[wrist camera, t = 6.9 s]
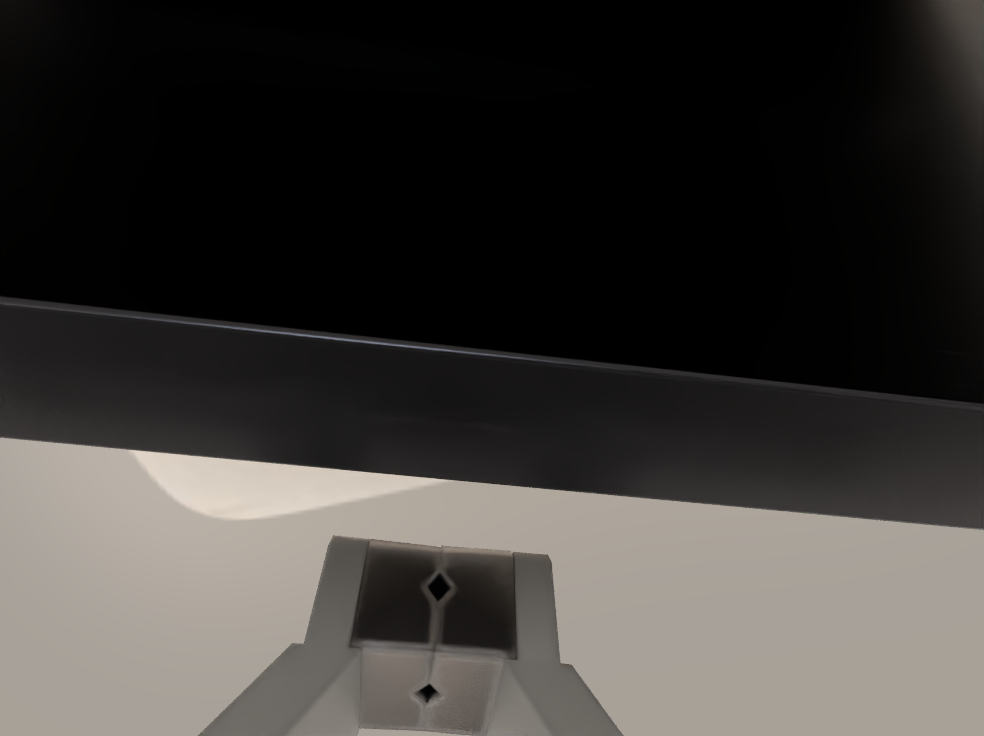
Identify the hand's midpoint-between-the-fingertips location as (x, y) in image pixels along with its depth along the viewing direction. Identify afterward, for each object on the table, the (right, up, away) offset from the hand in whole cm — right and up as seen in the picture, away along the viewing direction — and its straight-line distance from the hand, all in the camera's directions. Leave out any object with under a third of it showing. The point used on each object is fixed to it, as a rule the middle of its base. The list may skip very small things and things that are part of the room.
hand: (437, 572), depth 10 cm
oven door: (+1, +11, +6) cm, 13 cm away
